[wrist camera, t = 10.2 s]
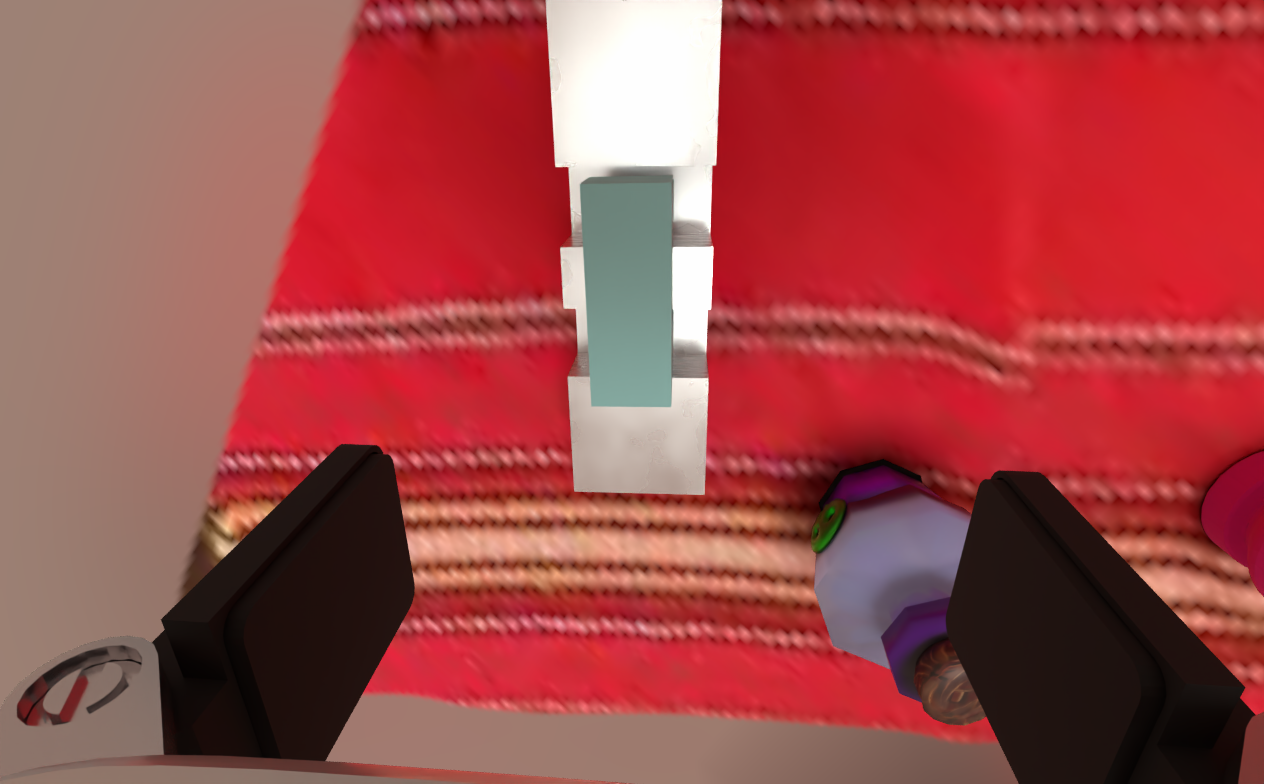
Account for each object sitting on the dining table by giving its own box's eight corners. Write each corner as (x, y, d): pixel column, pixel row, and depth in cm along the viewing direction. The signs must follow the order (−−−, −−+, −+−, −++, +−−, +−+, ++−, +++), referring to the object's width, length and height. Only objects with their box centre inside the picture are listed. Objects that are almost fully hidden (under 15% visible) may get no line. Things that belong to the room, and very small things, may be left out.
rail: (564, 5, 26) (545, -12, 22) (716, 1, 25) (722, -17, 22) (586, 450, 34) (574, 491, 30) (701, 452, 33) (704, 494, 30)
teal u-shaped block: (602, 167, 27) (579, 184, 21) (673, 166, 27) (671, 182, 21) (609, 348, 30) (591, 406, 24) (673, 348, 30) (671, 407, 24)
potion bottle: (800, 428, 32) (861, 591, 21) (978, 438, 32) (1133, 610, 21) (780, 567, 36) (823, 769, 25) (939, 578, 35) (1055, 789, 24)
